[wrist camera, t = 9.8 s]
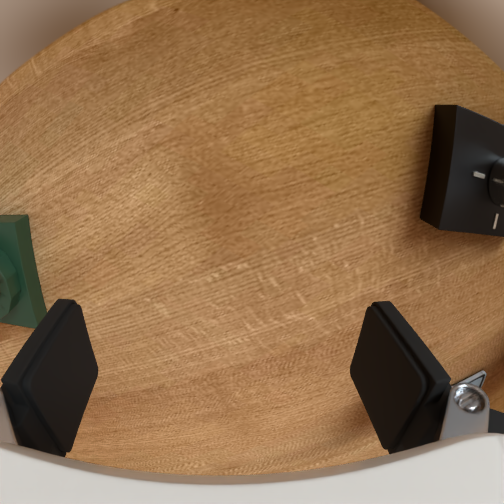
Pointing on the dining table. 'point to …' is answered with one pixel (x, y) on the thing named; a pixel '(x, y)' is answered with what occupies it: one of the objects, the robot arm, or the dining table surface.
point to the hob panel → (463, 172)
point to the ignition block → (19, 274)
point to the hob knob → (497, 183)
